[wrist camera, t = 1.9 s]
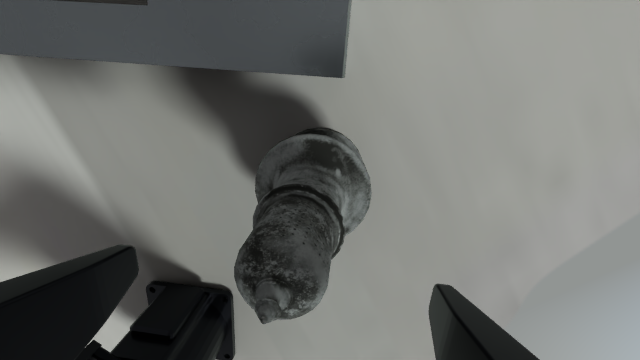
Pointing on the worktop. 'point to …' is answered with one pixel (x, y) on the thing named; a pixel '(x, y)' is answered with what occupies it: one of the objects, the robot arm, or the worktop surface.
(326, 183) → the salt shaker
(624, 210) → the worktop surface
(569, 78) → the worktop surface
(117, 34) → the grey flat block
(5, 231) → the worktop surface
